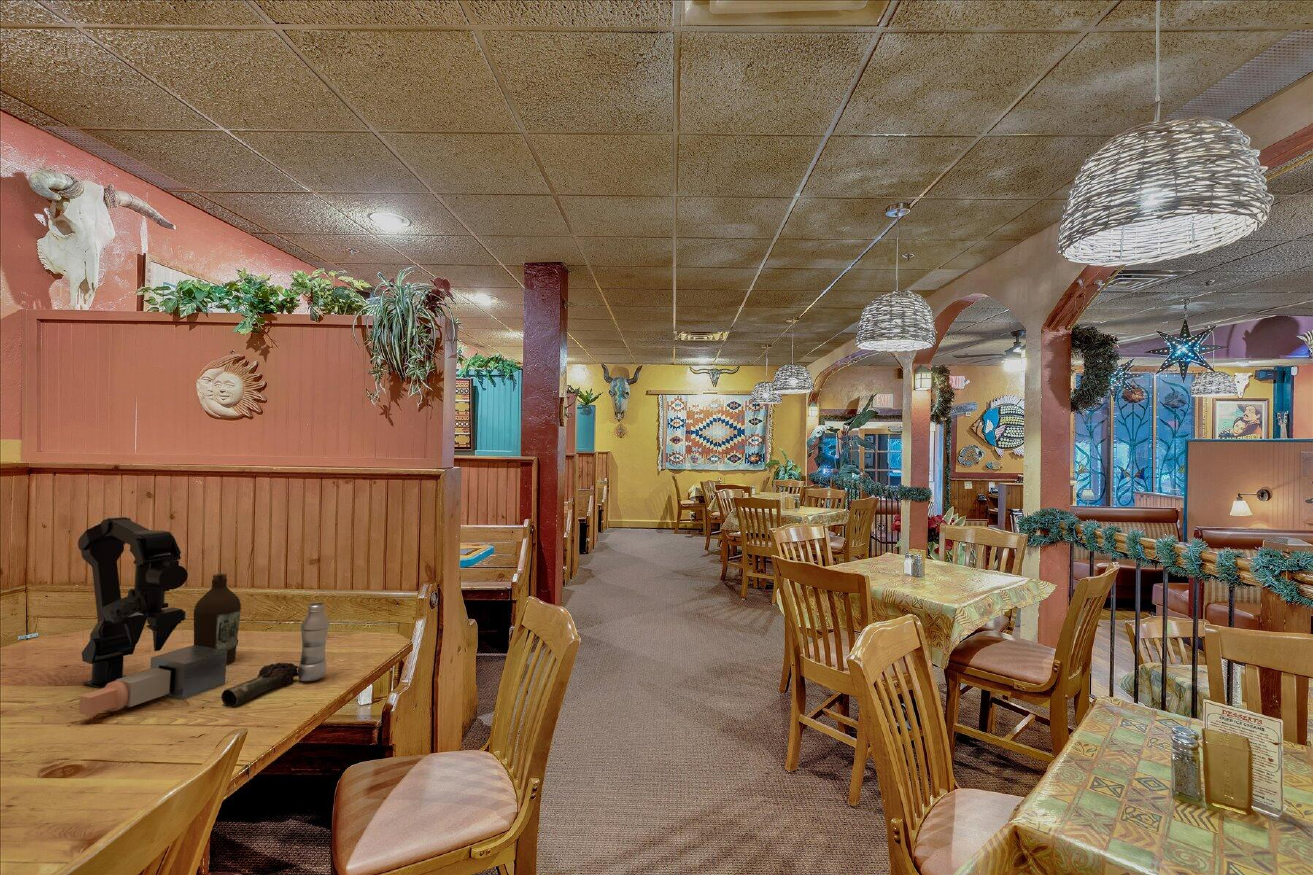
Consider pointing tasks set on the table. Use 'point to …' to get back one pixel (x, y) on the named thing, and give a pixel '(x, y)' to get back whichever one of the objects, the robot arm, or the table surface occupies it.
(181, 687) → the housing
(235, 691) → the metal pipe
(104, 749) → the table surface
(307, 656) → the plastic bottle
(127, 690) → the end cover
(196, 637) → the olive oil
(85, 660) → the robot arm
